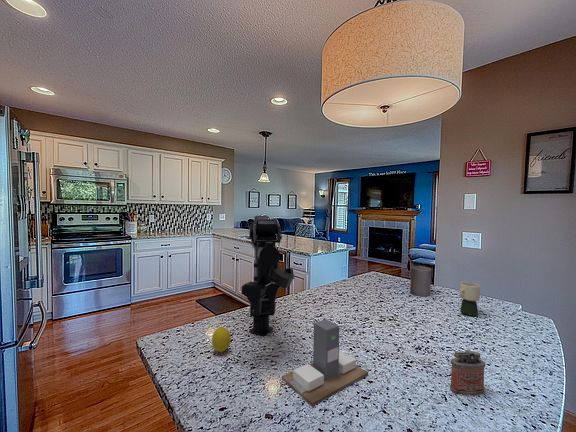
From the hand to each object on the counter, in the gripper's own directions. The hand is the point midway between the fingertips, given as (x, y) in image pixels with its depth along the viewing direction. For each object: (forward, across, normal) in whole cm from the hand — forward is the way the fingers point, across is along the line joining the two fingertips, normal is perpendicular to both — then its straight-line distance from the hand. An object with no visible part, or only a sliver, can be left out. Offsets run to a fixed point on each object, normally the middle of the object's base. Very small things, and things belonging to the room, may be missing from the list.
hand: (265, 310), depth 85 cm
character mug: (+13, +63, -64) cm, 91 cm away
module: (+12, -4, -20) cm, 24 cm away
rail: (+13, -4, -20) cm, 25 cm away
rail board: (+13, -4, -20) cm, 25 cm away
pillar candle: (+13, +84, -46) cm, 97 cm away
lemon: (+13, -6, +12) cm, 19 cm away
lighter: (+13, +5, -54) cm, 56 cm away
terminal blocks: (+12, -5, -20) cm, 24 cm away
